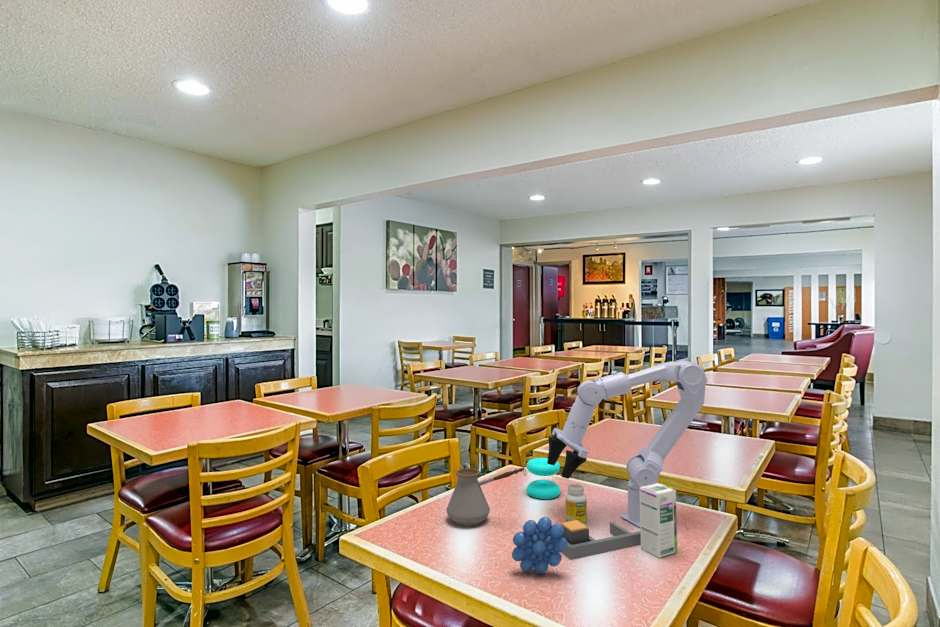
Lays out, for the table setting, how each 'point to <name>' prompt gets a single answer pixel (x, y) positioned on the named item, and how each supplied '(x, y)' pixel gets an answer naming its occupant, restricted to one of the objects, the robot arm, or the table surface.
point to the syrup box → (658, 520)
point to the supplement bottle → (576, 504)
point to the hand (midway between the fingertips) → (557, 470)
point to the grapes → (539, 545)
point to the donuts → (543, 487)
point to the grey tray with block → (586, 545)
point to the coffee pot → (471, 497)
